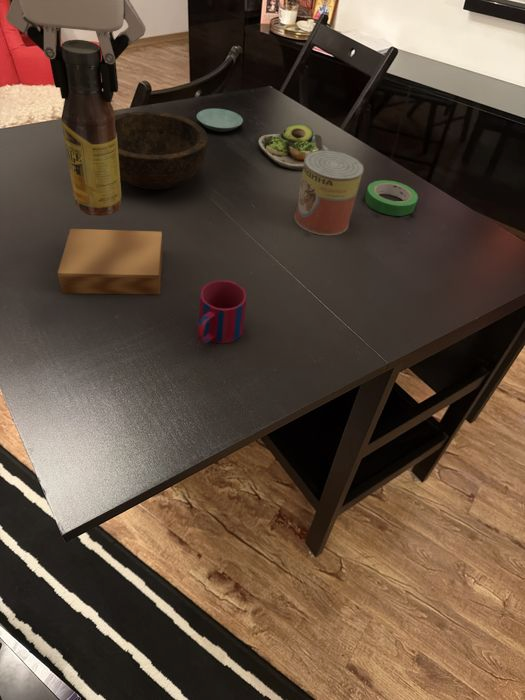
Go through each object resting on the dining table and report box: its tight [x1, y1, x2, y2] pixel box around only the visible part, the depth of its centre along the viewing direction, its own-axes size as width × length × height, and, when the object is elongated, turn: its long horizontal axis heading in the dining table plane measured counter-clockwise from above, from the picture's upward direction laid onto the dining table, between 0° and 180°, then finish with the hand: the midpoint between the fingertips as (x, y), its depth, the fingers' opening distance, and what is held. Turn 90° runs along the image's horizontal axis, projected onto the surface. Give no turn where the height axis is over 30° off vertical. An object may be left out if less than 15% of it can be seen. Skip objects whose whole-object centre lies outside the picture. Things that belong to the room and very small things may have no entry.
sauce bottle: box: [60, 39, 122, 217], centre depth 59 cm, size 7×6×20 cm
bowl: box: [115, 110, 209, 190], centre depth 98 cm, size 22×22×10 cm
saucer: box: [196, 108, 244, 133], centre depth 123 cm, size 12×12×2 cm
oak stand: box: [57, 228, 164, 295], centre depth 79 cm, size 15×12×4 cm
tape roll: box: [364, 179, 419, 217], centre depth 105 cm, size 11×11×3 cm
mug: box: [196, 279, 248, 344], centre depth 70 cm, size 7×10×7 cm
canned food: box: [294, 149, 365, 237], centre depth 94 cm, size 11×11×12 cm
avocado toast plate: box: [257, 123, 329, 171], centre depth 115 cm, size 19×18×5 cm
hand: (88, 94), depth 56 cm, fingers closed on sauce bottle, 4 cm apart
